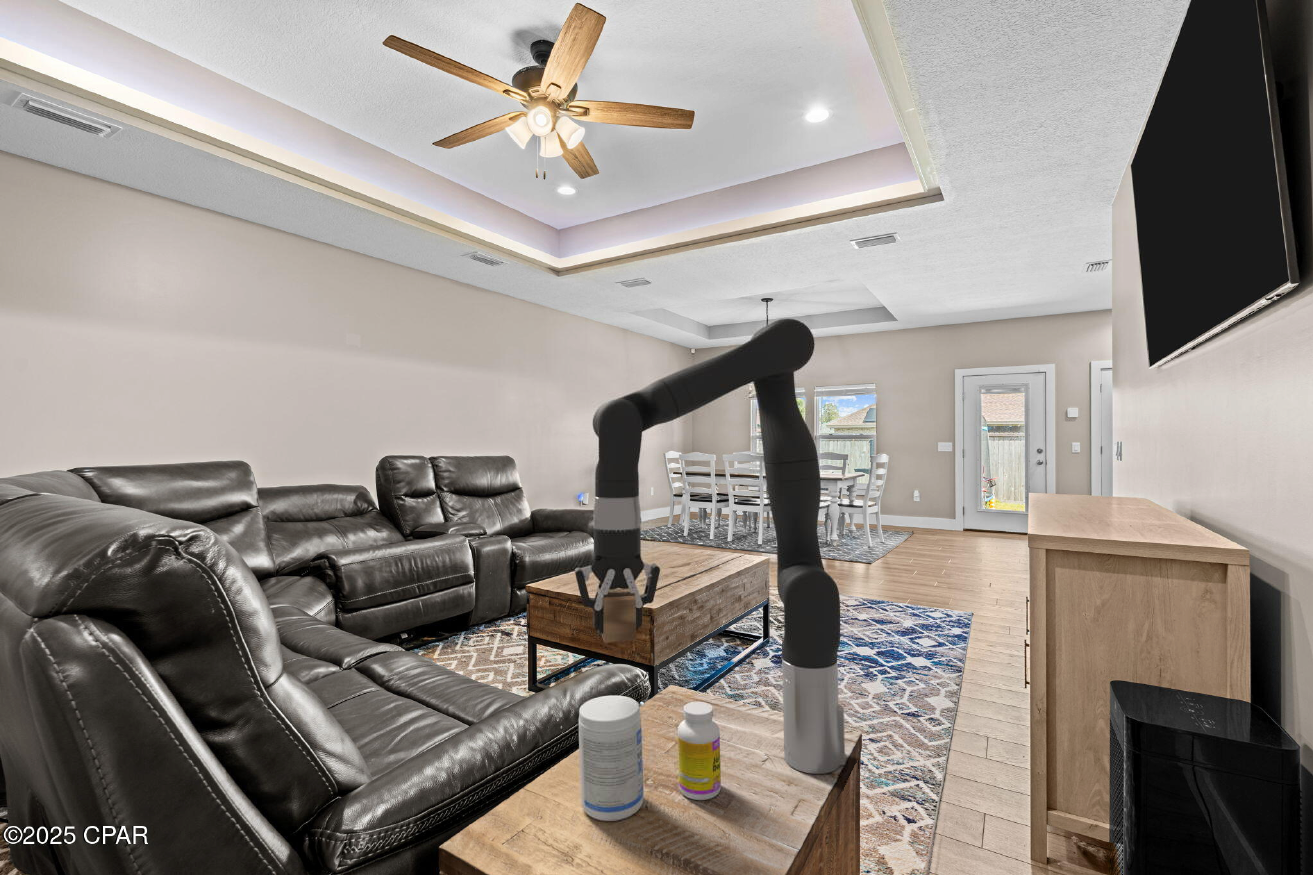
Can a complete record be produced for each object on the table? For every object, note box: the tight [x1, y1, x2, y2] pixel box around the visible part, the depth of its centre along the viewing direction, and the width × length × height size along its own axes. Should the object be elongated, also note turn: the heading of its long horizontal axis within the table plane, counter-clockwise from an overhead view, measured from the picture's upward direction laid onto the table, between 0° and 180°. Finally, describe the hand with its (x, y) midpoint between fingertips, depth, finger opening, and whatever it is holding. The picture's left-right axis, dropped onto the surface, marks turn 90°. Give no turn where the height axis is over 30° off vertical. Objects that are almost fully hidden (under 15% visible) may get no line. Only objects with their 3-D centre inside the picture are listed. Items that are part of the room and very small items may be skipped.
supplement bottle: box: [677, 701, 722, 801], centre depth 94 cm, size 7×7×13 cm
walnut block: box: [600, 588, 637, 644], centre depth 95 cm, size 5×5×7 cm
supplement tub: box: [578, 695, 645, 822], centre depth 90 cm, size 10×10×15 cm
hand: (617, 630), depth 95 cm, fingers closed on walnut block, 5 cm apart
